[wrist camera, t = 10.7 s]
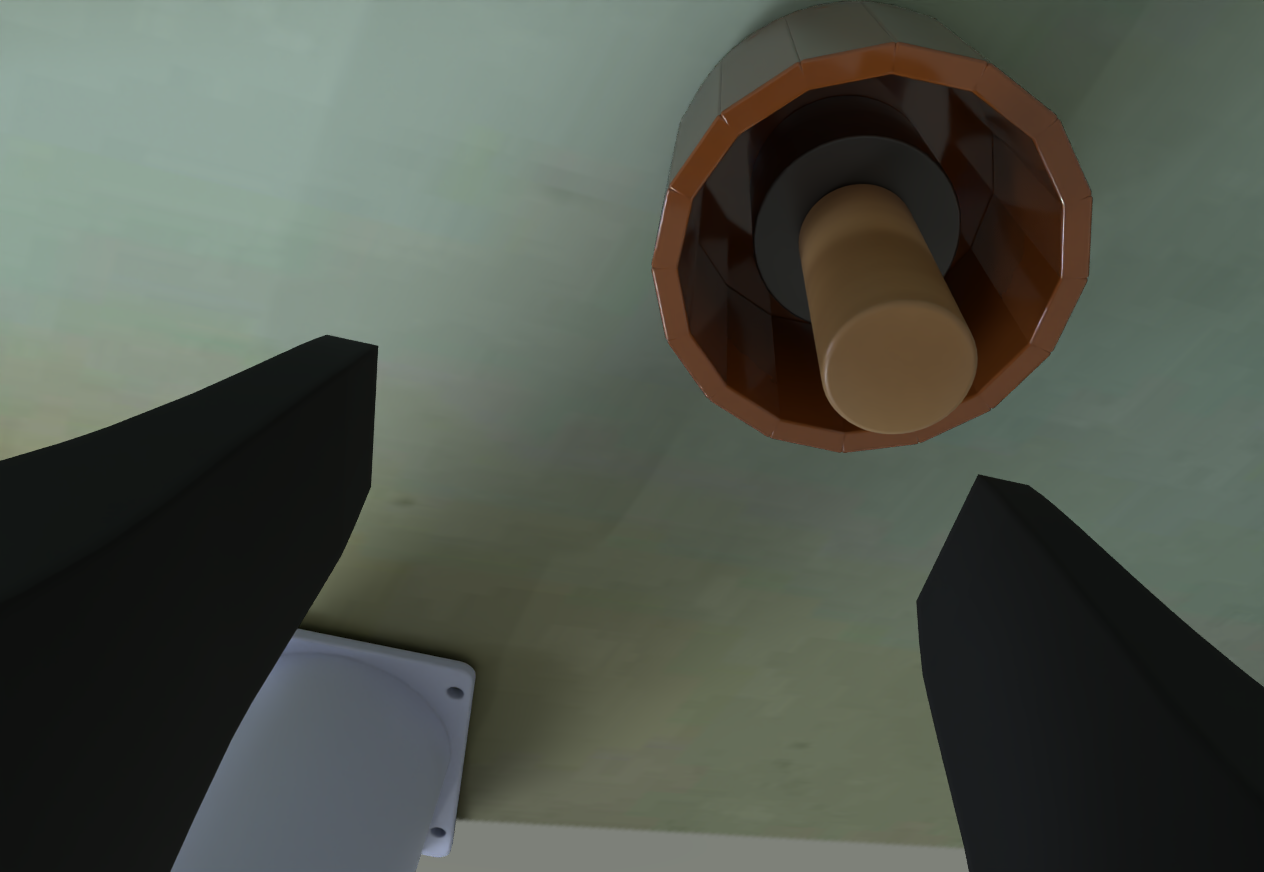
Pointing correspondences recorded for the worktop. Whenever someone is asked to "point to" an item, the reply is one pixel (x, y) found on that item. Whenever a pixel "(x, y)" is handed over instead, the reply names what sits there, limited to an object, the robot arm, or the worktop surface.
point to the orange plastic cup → (965, 148)
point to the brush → (865, 259)
